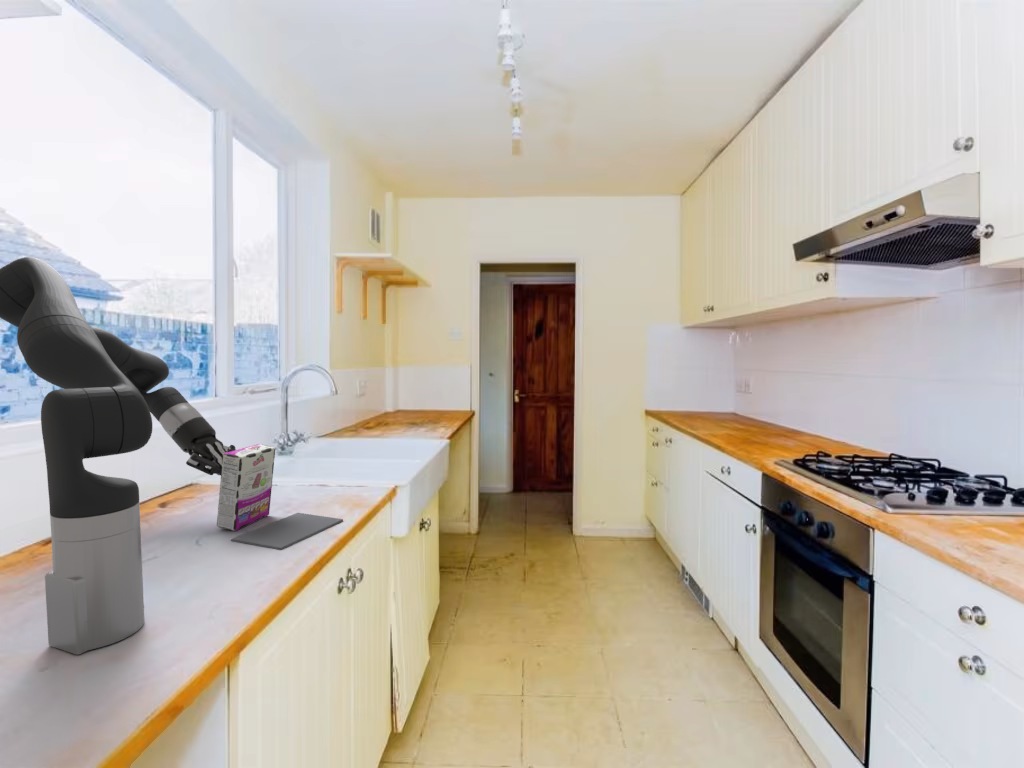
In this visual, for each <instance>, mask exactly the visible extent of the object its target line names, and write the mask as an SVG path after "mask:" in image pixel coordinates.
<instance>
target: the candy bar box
mask: <svg viewBox="0 0 1024 768" xmlns="http://www.w3.org/2000/svg"><path fill="white" fill-rule="evenodd" d="M275 457H276V447H275V446H270V445H266V444H263V443H259V444H253V445H251V446H245V447H241V448H239V449H236V450H234V451H231V452H227V453H223V458H222V470H221V475H220V483H219V484H220V486H219V496H218V498H219V499H218V507H217V520H216V527H218V528H220V529H225V530H229V531H232V532H236V531H239V530H240V529H243V528H245V527H247V526H249V525H251V524H253V523H255V522H257V521H259V520H262V519H264V518H265V517H268V516H270V509H271V508H270V507H271V499H272V498H271V497H272V486H273V477H274V467H275V466H274V465H275Z"/></svg>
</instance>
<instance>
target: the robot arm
mask: <svg viewBox="0 0 1024 768" xmlns="http://www.w3.org/2000/svg"><path fill="white" fill-rule="evenodd" d="M0 318H1V319H2V320H3V321H4V322H7V323H9V324H10V325H13V326H14V327H16V328H17V333H16V340H17V341H16V342H17V345H18V348H19V350H20V352H21V355H22V356H23V359H24V361H25V363H26V365H27V366H28V368H29V369H30V370H31V372H33V373H34V374H35V375H36V376H37V377H39V378H40V379H42V380H44V381H46V382H47V383H50V384H51V385H54V386H56V387H59V388H60V389H59V388H58V389H54V390H51V391H50V392H48V393H47V394H46V395H45V397H44V399H43V400H42V403H41V409H40V423H41V424H40V425H41V434H42V440H43V449H44V454H45V455H44V456H45V465H46V475H47V476H46V478H47V488H48V489H47V491H48V499H49V500H48V503H49V514H50V515H49V517H50V522H49V523H50V536H51V538H50V539H51V540H50V541H51V555H52V556H51V557H52V571H50V572H47V573H46V574H45V575H44V584H45V605H46V620H47V621H46V623H47V639H48V646H50V647H53V648H56V649H59V650H62V651H65V652H68V653H71V654H74V655H75V656H76V655H80V654H83V653H85V652H87V651H90V650H94V649H99V648H103V647H106V646H108V645H109V646H110V645H112V644H115V643H117V642H119V641H122V640H124V639H127V638H128V637H130V636H132V635H134V634H135V633H136V632H138V631H139V630H140V629H141V628H142V627H143V626H144V624H145V602H144V580H143V579H144V578H143V560H142V559H143V555H142V554H143V553H142V535H141V534H142V533H141V532H142V530H141V509H140V507H141V506H140V504H141V503H140V491H139V490H140V489H139V485H138V483H137V482H136V481H134V480H132V479H129V478H123V477H115V476H114V477H113V476H105V475H102V474H101V475H100V474H97V473H93V472H91V471H89V470H87V469H85V466H84V462H83V460H84V459H92V458H93V459H94V458H100V457H108V456H116V455H122V454H127V453H131V452H135V451H138V450H141V449H142V448H144V447H145V446H146V445H147V443H149V441H150V439H151V438H152V434H153V419H152V418H153V417H154V418H155V419H156V421H158V422H159V424H160V425H161V427H162V428H163V430H164V431H165V432H166V434H167V435H168V436H169V437H170V438H171V439H172V440H173V441H174V443H175V444H176V445H177V446H178V447H179V449H180V450H181V451H182V452H184V453H186V454H188V455H189V458H188V459H187V461H186V462H185V464H186V465H187V466H189V467H192V468H194V469H196V470H198V471H201V472H203V473H205V474H207V475H210V476H213V475H214V474H215V475H216V476H221V470H222V458H223V453H227V452H231V451H234V450H237V449H236V446H235V444H234V445H233V444H230V446H228V445H224V444H223V442H222V441H221V440H219V438H217V436H216V434H217V433H216V430H215V428H214V427H213V426H212V425H211V424H210V423H209V422H208V421H207V419H205V418H204V416H203V415H202V414H201V413H200V412H199V410H198V409H196V408H195V407H194V406H192V404H190V403H189V402H188V400H187V399H186V398H185V397H184V396H183V395H182V393H181V392H180V391H179V390H178V389H176V388H175V387H173V386H164V387H161V388H158V389H156V390H154V391H151V390H152V389H153V388H155V387H157V386H158V385H160V384H161V383H162V382H164V381H165V380H166V379H167V378H168V377H169V374H170V368H169V366H168V365H167V363H166V362H165V361H164V360H163V359H161V358H160V357H158V356H156V355H154V354H152V353H150V352H147V351H143V350H140V349H138V348H134V347H132V346H130V345H129V344H128V343H126V342H125V341H123V340H122V339H121V338H119V337H118V336H117V335H116V334H114V333H113V332H111V331H109V330H106V329H104V328H101V327H97V326H93V325H90V324H89V322H88V321H87V320H86V318H85V317H84V316H83V313H81V310H80V309H79V307H78V304H77V302H76V299H75V296H74V294H73V292H72V290H71V287H70V286H69V284H68V283H67V281H66V280H65V278H64V277H63V276H62V275H61V274H60V273H59V272H58V271H57V270H56V268H54V267H53V266H52V265H50V263H49V264H48V262H46V261H44V260H42V259H39V258H36V257H33V256H25V257H21V258H18V259H17V258H16V259H15V260H13V261H11V262H10V263H8V264H5V265H4V266H1V268H0ZM149 391H151V392H149ZM152 416H153V417H152Z"/></svg>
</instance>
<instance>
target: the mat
mask: <svg viewBox="0 0 1024 768" xmlns="http://www.w3.org/2000/svg"><path fill="white" fill-rule="evenodd" d="M343 521H344V519H343V518H339V517H337V518H336V517H330V516H324V515H318V514H311V513H310V514H309V513H302V512H296V513H293V514H291V515H288V516H285V517H283V518H280V519H279V520H275V521H273V522H271V523H267V524H265V525H263V526H260V527H257V528H254V529H253V530H251V531H248V532H244V533H242V534H241V535H237V536H235V537H233V538H230V541H231V542H235V543H236V542H237V543H241V544H246V545H251V546H258V547H263V548H269V549H275V550H280V551H281V550H284V549H286V548H288V547H290V546H293V545H294V544H297V543H299V542H301V541H304V540H305V539H307V538H310V537H311V536H314V535H316V534H318V533H320V532H323V531H325V530H327V529H329V528H331V527H334V526H335V525H338V524H339V523H342V522H343Z"/></svg>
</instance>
